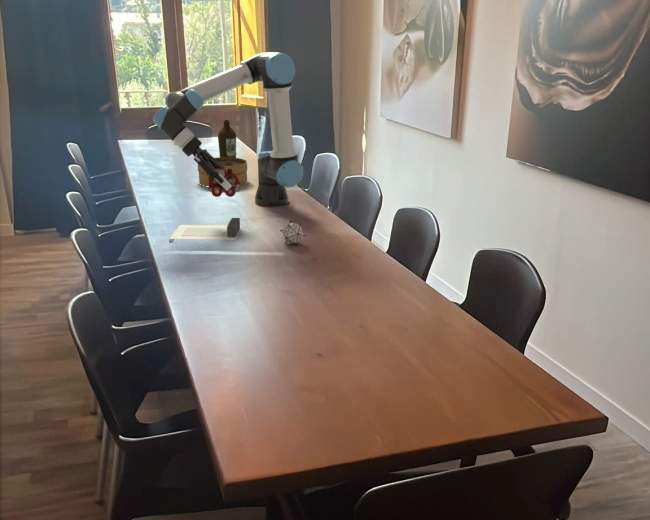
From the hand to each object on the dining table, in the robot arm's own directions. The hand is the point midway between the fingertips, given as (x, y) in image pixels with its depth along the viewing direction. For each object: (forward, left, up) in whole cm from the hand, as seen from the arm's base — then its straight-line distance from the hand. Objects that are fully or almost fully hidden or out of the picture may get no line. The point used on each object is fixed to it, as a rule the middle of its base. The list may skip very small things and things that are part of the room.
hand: (231, 185), depth 241 cm
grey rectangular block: (-2, +13, -15) cm, 20 cm away
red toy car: (+3, 0, -4) cm, 5 cm away
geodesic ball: (-25, +22, -16) cm, 37 cm away
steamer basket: (+16, -75, -16) cm, 78 cm away
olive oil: (+22, -129, -16) cm, 131 cm away
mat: (+8, +13, -16) cm, 22 cm away
